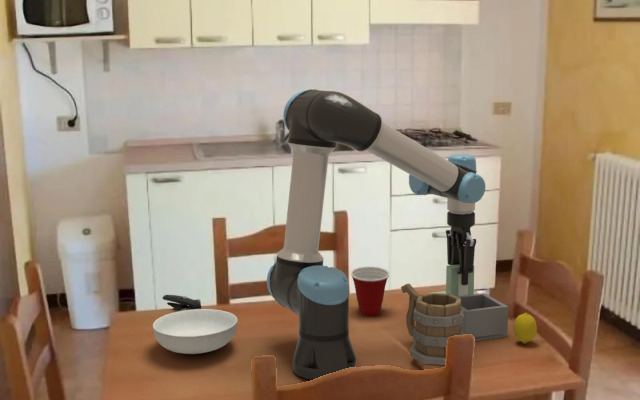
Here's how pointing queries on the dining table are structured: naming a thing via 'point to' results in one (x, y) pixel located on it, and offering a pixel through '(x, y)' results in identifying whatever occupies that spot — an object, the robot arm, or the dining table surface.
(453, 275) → the lid
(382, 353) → the dining table surface
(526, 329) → the lemon
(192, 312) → the serving bowl
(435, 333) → the tankard
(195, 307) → the black stapler
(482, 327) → the parts tub
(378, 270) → the plastic cup
